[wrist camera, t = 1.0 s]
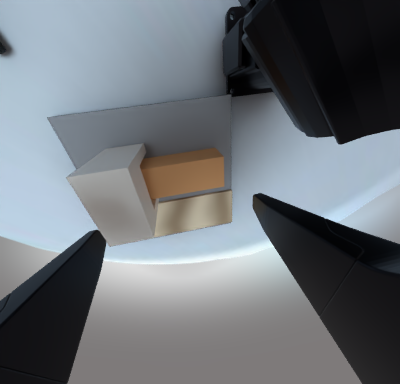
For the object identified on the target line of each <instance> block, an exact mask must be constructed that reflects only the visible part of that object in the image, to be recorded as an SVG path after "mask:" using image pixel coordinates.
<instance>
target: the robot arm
mask: <svg viewBox="0 0 400 384" xmlns="http://www.w3.org/2000/svg"><path fill="white" fill-rule="evenodd" d="M239 2H240V3H241V5H242V6H240V7H231V8H230V9H229V10H228V12H227V14H226V36H225V38H224V39H223V72H224V74H225V76H226V89H227V95H230V94H231V93H230V90H231V89H233V93H232V94H231V97H236V96H243V95H251V94H259V93H267V92H274V93H275V95H276V96H277V98H278V99H279V101H280V103H281V104H282V106H283V108H284V109H285V111H286V112H287V114H288V116H289V117H290V119H291V120H292V122H293V124H294V125H295V127H296V128H298V129H299V130H300V131H302V132H304V133H305V134H306V136H308V137H316V138H318V137H331V136H334V137H335V139H336V141H337V143H338V144H344V143H347V142H350V141H353V140H356V139H358V138H361V137H364V136H367V135H372V134H376V133H380V132H385V131H389V130H395V129H400V0H239ZM230 14H233V15H234V19H233V20H231V19H230ZM253 209H254V211H255V214H256V216H257V218H258V220H259V222H260V224H261V226H262V228H263V230H264V231H265V233H266V235H267V236H268V238H269V239H270V241H271V243H272V244H273V246H274V247H275V249H276V250H277V252H278V253H279V255H280V256H281V258H282V259H283V261H284V263H285V264H286V266H287V267H288V269H289V270H290V272H291V274H292V275H293V277H294V278H295V280H296V281H297V283H298V284H299V286H300V288H301V289H302V291H303V292H304V294H305V295H306V297H307V298H308V300H309V301H310V303H311V305H312V306H313V308H314V309H315V311H316V312H317V314H318V315H319V316H320V319H321V320H322V322H323V323H324V325H325V327H326V328H327V330H328V331H329V333H330V334H331V336H332V337H333V339H334V340H335V342H336V344H337V345H338V347H339V348H340V350H341V351H342V353H343V354H344V356H345V358H346V359H347V361H348V362H349V364H350V365H351V367H352V368H353V370H354V371H355V373H356V375H357V376H358V377H359V379H360V381H361V382H362V384H400V244H397V243H395V242H392V241H389V240H386V239H382V238H380V237H376V236H373V235H370V234H367V233H364V232H361V231H359V230H356V229H353V228H349V227H347V226H344V225H342V224H339V223H336V222H334V221H331V220H329V219H325V218H323V217H321V216H318V215H316V214H313V213H310V212H308V211H305V210H303V209H300V208H298V207H295V206H292V205H290V204H287V203H285V202H282V201H280V200H277V199H274V198H272V197H269V196H267V195H264V194H262V193H258V194H254V195H253ZM105 247H106V239H105V238H104V237H103V235H102V234H101V232H100V231H99V230H93V231H90V232H88V233H87V234H85V235H84V236H83V237H82V238H80V239H79V240H78V241H76V242H75V243H74V244H73V245H71V246H70V247H69V248H67V249H66V250H65V251H64V252H62V253H61V254H60V255H58V256H57V257H56V258H55V259H53V260H52V261H51V262H50V263H48V264H47V265H46V266H44V267H43V268H42V269H41V270H39V271H38V272H37V273H35V274H34V275H33V276H32V277H30V278H29V279H28V280H26V281H25V282H24V283H23V284H21V285H20V286H19V287H17V288H16V289H15V290H14V291H12V293H10V294H8V295H7V296H6V297H4V298H3V299H2V300H1V301H0V384H67V383H68V380H69V377H70V373H71V370H72V367H73V363H74V360H75V356H76V353H77V350H78V346H79V343H80V340H81V336H82V332H83V329H84V326H85V323H86V319H87V316H88V313H89V309H90V306H91V303H92V299H93V296H94V292H95V289H96V285H97V282H98V279H99V276H100V272H101V268H102V263H103V258H104V253H105Z"/></svg>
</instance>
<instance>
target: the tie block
mask: <svg viewBox="0 0 400 384" xmlns="http://www.w3.org/2000/svg"><path fill="white" fill-rule="evenodd" d="M145 154H146V149H145V146H144V143H141V144H134V145H128V146H121V147H114V148H107V149H105V150H103V151H102V152H101V153H99V154H98V155H96V156H95V157H94V158H92V159H91V160H90V161H88V162H87V163H85V164H84V165H83V166H81V167H80V168H78V169H77V170H76V171H74V172H73V173H72V174H70V175H69V176H67V177H66V178H67V180H68V182H69V183H70V185H71V186H72V188H73V189H74V191H75V193H76V194H77V196H78V197H79V199H80V201H81V202H82V204H83V205H84V207H85V208H86V210H87V212H88V213H89V215H90V216H91V218H92V220H93V221H94V223H95V224H96V226H97V227H98V229H99V231H100V232H101V234H102V235H103V237H104V238H105V239H106V242H107V243H108V245H109V246H110V247H111V246H116V245H121V244H126V243H131V242H136V241H141V240H147V239H152V238H154V235H155V227H156V219H157V211H158V203H159V198H156V199H151V198H150V195H149V192H148V189H147V187H146V184H145V181H144V178H143V175H142V172H141V169H140V164H141V162H142V160H143V158H144V156H145Z"/></svg>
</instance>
